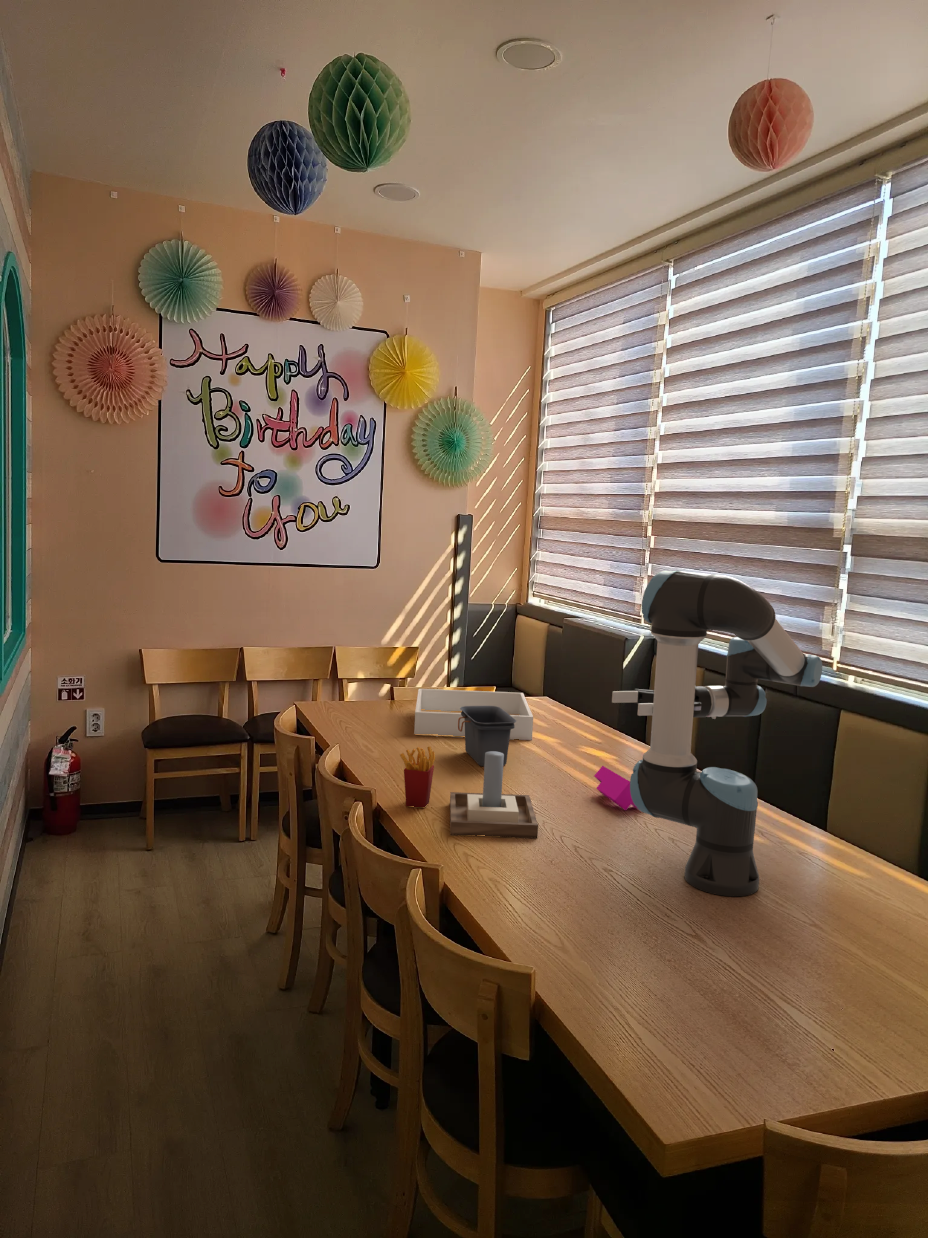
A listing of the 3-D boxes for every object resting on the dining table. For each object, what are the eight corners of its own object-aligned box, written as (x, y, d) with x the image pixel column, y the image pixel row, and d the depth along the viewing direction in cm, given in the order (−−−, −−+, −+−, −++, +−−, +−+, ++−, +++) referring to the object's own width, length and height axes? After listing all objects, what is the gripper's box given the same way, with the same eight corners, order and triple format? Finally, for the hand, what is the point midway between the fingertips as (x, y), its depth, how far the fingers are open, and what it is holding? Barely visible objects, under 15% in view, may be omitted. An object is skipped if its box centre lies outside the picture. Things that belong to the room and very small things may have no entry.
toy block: (614, 800, 234) (632, 817, 236) (630, 781, 235) (647, 799, 237) (588, 783, 248) (605, 799, 250) (602, 765, 249) (619, 782, 251)
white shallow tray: (532, 740, 304) (533, 716, 303) (414, 735, 303) (415, 712, 302) (522, 713, 343) (523, 692, 342) (417, 709, 342) (418, 688, 341)
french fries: (427, 810, 229) (429, 752, 227) (395, 806, 230) (397, 749, 229) (435, 799, 237) (437, 743, 236) (404, 796, 239) (407, 740, 237)
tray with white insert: (537, 838, 213) (538, 825, 212) (450, 835, 212) (451, 822, 212) (528, 807, 235) (529, 795, 234) (449, 804, 234) (450, 792, 234)
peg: (500, 820, 222) (504, 757, 220) (481, 819, 222) (485, 756, 220) (500, 814, 227) (503, 751, 224) (481, 813, 227) (484, 751, 224)
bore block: (517, 830, 218) (518, 811, 217) (467, 828, 217) (468, 810, 217) (513, 813, 230) (514, 796, 229) (466, 811, 229) (467, 794, 229)
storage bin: (517, 768, 270) (520, 721, 268) (467, 770, 266) (469, 722, 264) (495, 749, 290) (497, 705, 289) (449, 750, 286) (450, 706, 284)
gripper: (732, 729, 209) (649, 731, 203) (677, 705, 233) (602, 707, 227) (734, 697, 208) (651, 698, 202) (679, 676, 232) (603, 677, 226)
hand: (625, 703), depth 215 cm, fingers open, 13 cm apart
